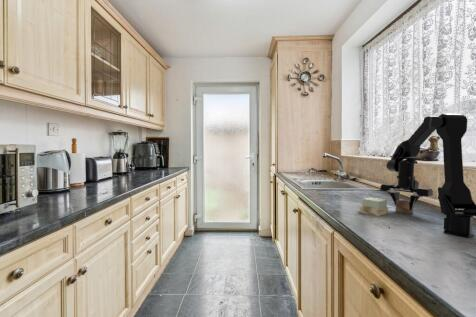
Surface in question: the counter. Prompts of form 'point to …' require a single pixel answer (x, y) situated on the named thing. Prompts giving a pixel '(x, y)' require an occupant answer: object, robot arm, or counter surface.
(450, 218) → the robot arm
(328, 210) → the counter surface
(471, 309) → the counter surface
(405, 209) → the walnut cube
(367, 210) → the beech slab
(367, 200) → the sage slab
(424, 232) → the counter surface
